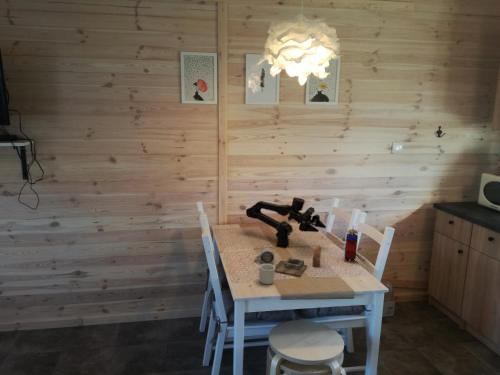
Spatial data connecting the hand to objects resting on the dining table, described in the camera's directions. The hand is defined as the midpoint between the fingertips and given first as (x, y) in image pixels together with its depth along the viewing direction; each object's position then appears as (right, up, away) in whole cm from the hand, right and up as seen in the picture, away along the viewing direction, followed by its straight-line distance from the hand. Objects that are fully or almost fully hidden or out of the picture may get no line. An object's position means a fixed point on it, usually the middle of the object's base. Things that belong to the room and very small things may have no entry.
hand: (322, 229), depth 226 cm
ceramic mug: (-33, -17, -7) cm, 38 cm away
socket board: (-20, -20, -16) cm, 32 cm away
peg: (-5, -19, -11) cm, 22 cm away
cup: (-33, -22, -30) cm, 50 cm away
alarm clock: (+15, -17, +1) cm, 23 cm away
